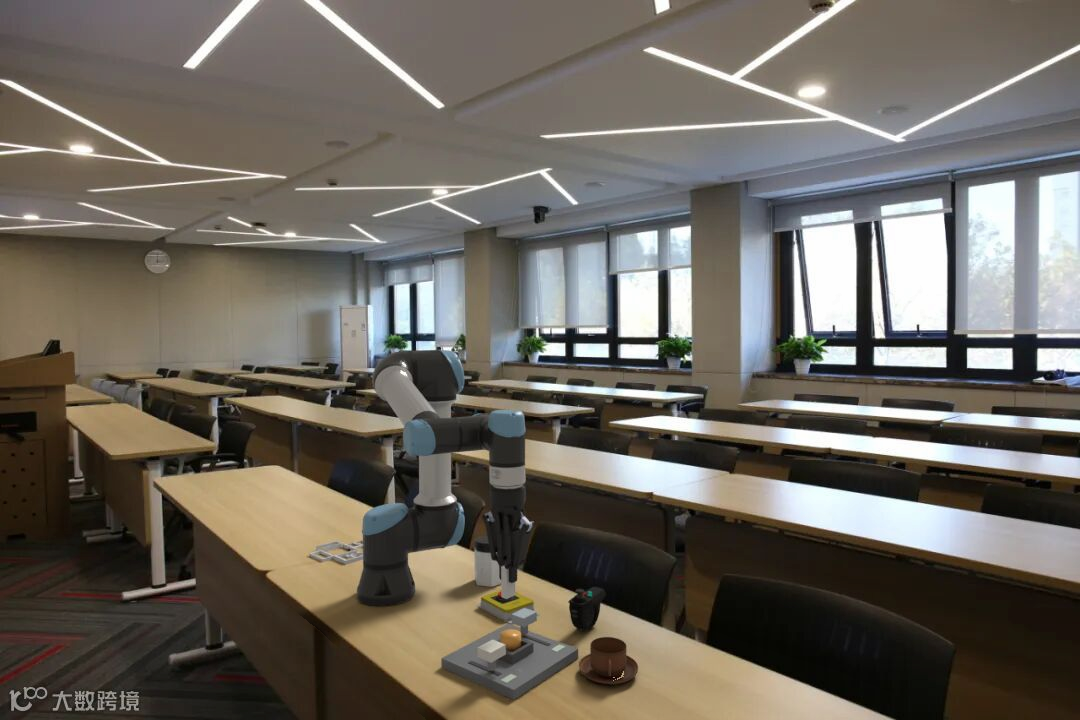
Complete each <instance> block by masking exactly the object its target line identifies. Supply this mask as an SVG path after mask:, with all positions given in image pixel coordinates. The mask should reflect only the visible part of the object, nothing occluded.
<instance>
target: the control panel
mask: <svg viewBox="0 0 1080 720" xmlns="http://www.w3.org/2000/svg"><path fill="white" fill-rule="evenodd" d="M508 629H514V630H518V631H520V626H519V627H518V626H517V625H516V626H515V625H514V624H509V623H507V624H505V625H503V626H501V627H499V628H497V629H495V630H493V631H491V632H489V633H488V634H486V635H484V636H482V637H480V638H477V639H476V640H474V641H472V642H470V643H468V644H466V645H464V646H462V647H460V648H458V649H456V650H455V651H453V652H451V653H449V654H447V655H444V656H443V657H441V668H442V669H444V670H446V671H448V672H451V673H452V674H455V675H457V676H459V677H461V678H464V679H466V680H468V681H470V682H473V683H475V684H477V685H479V686H482V687H484V688H486V689H488V690H490V691H493V692H495V693H497V694H500V695H502V696H504V697H506V698H508V699H511V700H513V701H515V700H517V699H518V698H519V697H521V696H523V695H524V694H526V693H527V692H529V691H530V690H531V689H533V688H535V687H536V686H538V685H539V684H541V683H543V682H544V681H545V680H547V679H549V678H551V677H552V676H553V675H554V674H556V673H558V672H559V671H561V670H562V669H563V668H566V667H567V666H568V665H570V664H571V663H573V662H574V661H576V660H577V659H579V647H578V648H577V647H574V646H571V645H569V644H567V643H564V642H561V641H558V640H555V639H552V638H549V637H546V636H544V635H541V634H538V633H535V632H534V631H529V630H528V634H526V635H522V634H521V647H520V648H518V649H515V650H506V655H504V656H502V657H500V658H499V659H497V660H496V669H495V670H493V671H491V670H488V661H485V660H483V659H480V658H478V647H479V646H481V645H483V644H485V643H487V642H489V641H491V640H495V641H498V642H500V633H501V632H502V631H504V630H508Z"/></svg>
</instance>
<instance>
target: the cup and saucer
mask: <svg viewBox="0 0 1080 720" xmlns="http://www.w3.org/2000/svg"><path fill="white" fill-rule="evenodd" d="M589 647H590V650H589V651H590V653H588V654H587V655H585V656H583V657H582V658H581V659H580V660H579V663H578V667H579V671H580V673H581V674H582V675H583V676H584V677H585V678H587V679H588V680H590V681H592V682H595V683H598V684H602V685H603V684H604V685H617V684H618V685H619V684H623V683H626V682H628V681H630V680H632V679H633V678H634V677H635V676H636V675H637V673H638V670H639V665H638V662H637V661H636V660H635V659H633V658H632V657H630V656H629V655H627V647H628V646H627V644H626V642H625V641H624V640H622V639H619V638H617V637H611V636H603V637H597V638H595V639H593V640H592V641H591V642H590V646H589ZM623 671H624V675H623V676H624V677H622V678H620V679H618V680H617V678H619V677H621V675H622V673H623ZM613 677H615V678H613ZM615 679H616V680H615ZM613 680H614V681H613Z"/></svg>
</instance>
